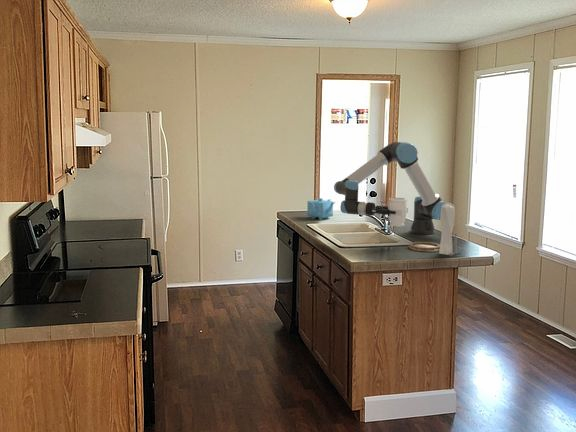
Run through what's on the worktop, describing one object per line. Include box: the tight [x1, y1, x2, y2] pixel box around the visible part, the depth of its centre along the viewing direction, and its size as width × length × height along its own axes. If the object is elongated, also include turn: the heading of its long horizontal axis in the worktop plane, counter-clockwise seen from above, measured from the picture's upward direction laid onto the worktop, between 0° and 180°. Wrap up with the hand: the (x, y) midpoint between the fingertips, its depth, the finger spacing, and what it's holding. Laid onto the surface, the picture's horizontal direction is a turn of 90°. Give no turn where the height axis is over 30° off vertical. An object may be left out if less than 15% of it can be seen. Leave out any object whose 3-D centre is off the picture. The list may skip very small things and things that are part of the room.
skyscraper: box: [438, 202, 458, 256], centre depth 322 cm, size 8×8×28 cm
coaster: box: [408, 241, 440, 253], centre depth 336 cm, size 17×17×2 cm
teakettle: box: [306, 197, 336, 221], centre depth 437 cm, size 19×19×15 cm
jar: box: [387, 197, 408, 227], centre depth 340 cm, size 11×10×15 cm
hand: (404, 211), depth 338 cm, fingers closed on jar, 10 cm apart
